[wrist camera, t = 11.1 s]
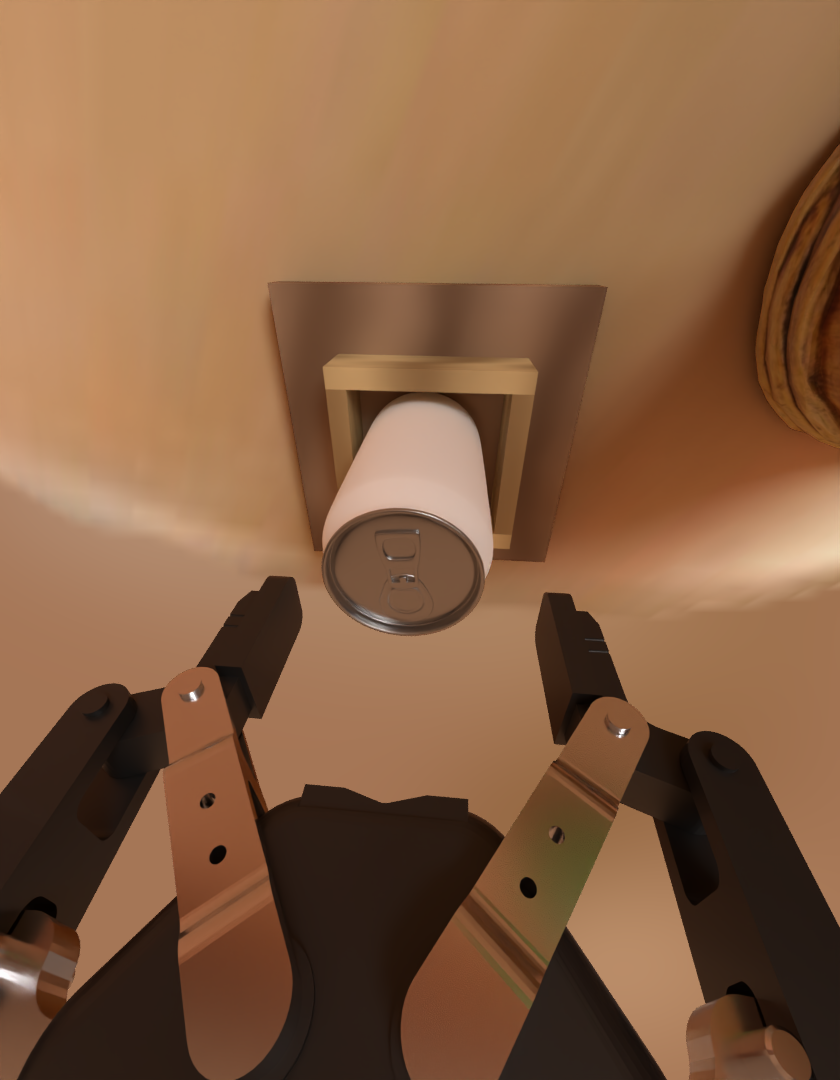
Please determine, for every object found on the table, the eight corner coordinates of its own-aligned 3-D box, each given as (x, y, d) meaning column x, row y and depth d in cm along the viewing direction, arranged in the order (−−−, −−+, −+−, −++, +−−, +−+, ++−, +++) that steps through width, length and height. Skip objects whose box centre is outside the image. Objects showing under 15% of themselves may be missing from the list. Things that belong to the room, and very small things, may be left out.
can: (377, 497, 26) (329, 644, 16) (360, 392, 22) (286, 500, 12) (480, 493, 25) (495, 644, 15) (480, 385, 22) (501, 492, 12)
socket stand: (598, 285, 20) (630, 291, 16) (540, 549, 29) (553, 591, 25) (278, 281, 21) (240, 287, 17) (320, 538, 30) (301, 578, 26)
